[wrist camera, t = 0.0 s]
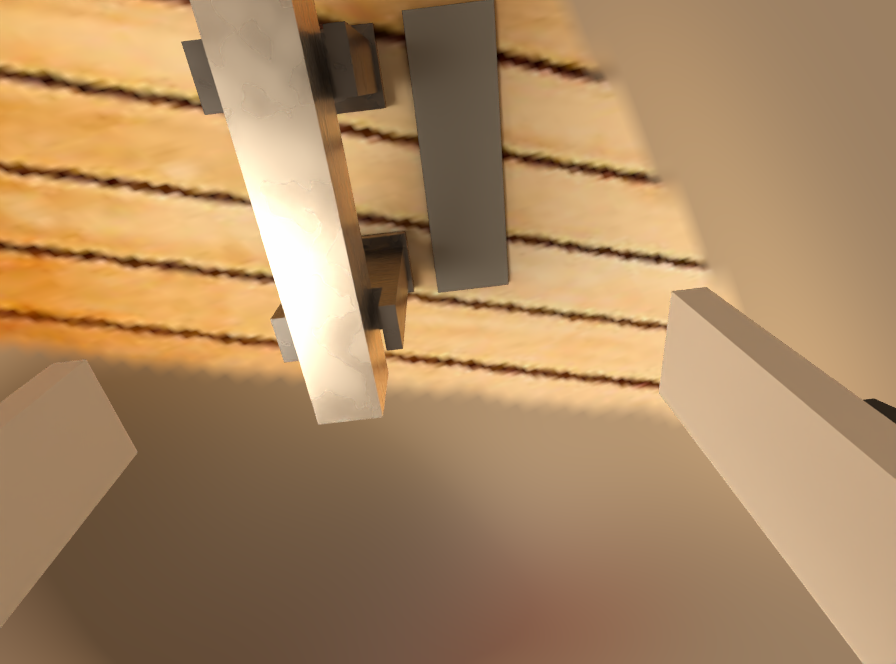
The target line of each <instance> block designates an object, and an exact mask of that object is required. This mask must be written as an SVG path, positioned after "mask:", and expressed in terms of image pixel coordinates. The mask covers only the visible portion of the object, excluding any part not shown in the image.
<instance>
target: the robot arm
mask: <svg viewBox="0 0 896 664" xmlns="http://www.w3.org/2000/svg"><path fill="white" fill-rule="evenodd" d="M659 394H660V396H661V397H662V398H663V400H664V401H665V402H666V404H667V405H668V406H669V407H670V409H671V410H672V411H673V413H674V414H675V415H676V417H677V418H678V419H679V421H680V422H681V423H682V425H683V426H684V427H685V429H686V430H687V431H688V432H689V434H690V435H691V436H692V438H693V439H694V441H695V442H696V443H697V445H698V446H699V447H700V449H701V450H702V451H703V452H704V454H705V455H706V456H707V458H708V459H709V460H710V462H711V463H712V464H713V466H714V467H715V468H716V470H717V471H718V472H719V474H720V475H721V476H722V478H723V479H724V480H725V482H726V483H727V484H728V486H729V487H730V488H731V489H732V491H733V492H734V493H735V495H736V496H737V497H738V499H739V500H740V501H741V503H742V504H743V505H744V507H745V508H746V509H747V511H748V512H749V513H750V514H751V516H752V517H753V519H754V520H755V521H756V522H757V524H758V525H759V527H760V528H761V529H762V531H763V532H764V533H765V535H766V536H767V537H768V539H769V540H770V541H771V543H772V544H773V545H774V546H775V548H776V549H777V550H778V552H779V553H780V554H781V556H782V557H783V558H784V560H785V561H786V562H787V564H788V565H789V566H790V568H791V569H792V570H793V572H794V573H795V574H796V576H797V577H798V578H799V580H800V581H801V582H802V583H803V584H804V586H805V588H806V589H807V590H808V591H809V593H810V594H811V595H812V597H813V598H814V599H815V601H816V602H817V603H818V605H819V606H820V607H821V609H822V610H823V611H824V613H825V614H826V615H827V617H828V618H829V619H830V621H831V622H832V623H833V624H834V626H835V627H836V629H837V630H838V631H839V632H840V634H841V635H842V636H843V638H844V639H845V640H846V642H847V643H848V644H849V646H850V647H851V648H852V650H853V651H854V652H855V654H856V655H857V656H858V658H859V659H860V660H861V662H862V663H863V664H896V408H894V407H892V406H890V405H888V404H885V403H883V402H881V401H878V400H876V399H866V400H862V399H860V398H859V397H858V396H856V395H855V394H854V393H852V392H851V391H849V390H848V389H847V388H845V387H844V386H843V385H841V384H840V383H838V382H837V381H836V380H834V379H833V378H831V377H830V376H829V375H827V374H826V373H824V372H823V371H822V370H820V369H819V368H818V367H816V366H815V365H813V364H812V363H811V362H809V361H808V360H807V359H805V358H804V357H802V356H801V355H799V354H798V353H797V352H795V351H794V350H793V349H791V348H790V347H789V346H787V345H786V344H784V343H783V342H782V341H780V340H779V339H777V338H776V337H775V336H773V335H772V334H771V333H769V332H768V331H766V330H765V329H764V328H762V327H761V326H759V325H758V324H757V323H755V322H754V321H753V320H751V319H750V318H748V317H747V316H746V315H744V314H743V313H741V312H740V311H739V310H737V309H736V308H735V307H733V306H732V305H730V304H729V303H728V302H726V301H725V300H723V299H722V298H721V297H719V296H718V295H717V294H715V293H714V292H712V291H711V290H710V289H708V288H707V287H704V288H695V289H687V290H678V291H672V292H671V300H670V308H669V316H668V324H667V332H666V340H665V348H664V355H663V363H662V371H661V379H660V387H659ZM136 454H137V450H136V448H135V447H134V445H133V443H132V441H131V439H130V438H129V436H128V434H127V432H126V430H125V429H124V427H123V425H122V423H121V421H120V420H119V418H118V416H117V414H116V413H115V411H114V409H113V407H112V406H111V403H110V402H109V400H108V398H107V396H106V394H105V393H104V391H103V389H102V387H101V385H100V384H99V382H98V380H97V379H96V376H95V374H94V373H93V371H92V369H91V367H90V365H89V364H88V362H87V360H86V359H85V360H77V361H68V362H60V363H52V364H51V365H50V366H49V367H47V368H46V369H44V370H43V371H42V372H40V373H39V374H38V375H36V376H35V377H34V378H32V379H31V380H30V381H28V382H27V383H26V384H24V385H23V386H22V387H20V388H19V389H18V390H16V391H15V392H14V393H12V394H11V395H10V396H8V397H7V398H6V399H4V400H3V401H2V402H0V628H1V627H2V625H3V624H4V623H5V622H6V620H7V619H8V618H9V616H10V615H11V614H12V612H13V611H14V610H15V609H16V608H17V606H18V605H19V604H20V602H21V601H22V600H23V599H24V597H25V596H26V595H27V593H28V592H29V591H30V589H31V588H32V587H33V586H34V585H35V583H36V582H37V581H38V579H39V578H40V577H41V576H42V574H43V573H44V572H45V570H46V569H47V568H48V567H49V565H50V564H51V563H52V561H53V560H54V559H55V558H56V556H57V555H58V554H59V552H60V551H61V550H62V549H63V547H64V546H65V545H66V544H67V542H68V541H69V540H70V538H71V537H72V536H73V534H74V533H75V532H76V531H77V529H78V528H79V527H80V526H81V524H82V523H83V522H84V521H85V519H86V518H87V517H88V515H89V514H90V513H91V512H92V510H93V509H94V508H95V506H96V505H97V504H98V502H99V501H100V500H101V499H102V497H103V496H104V495H105V494H106V492H107V491H108V490H109V488H110V487H111V486H112V485H113V483H114V482H115V481H116V480H117V478H118V477H119V476H120V474H121V473H122V472H123V471H124V469H125V468H126V467H127V465H128V464H129V463H130V461H131V460H132V459H133V458H134V456H135V455H136Z"/></svg>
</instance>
